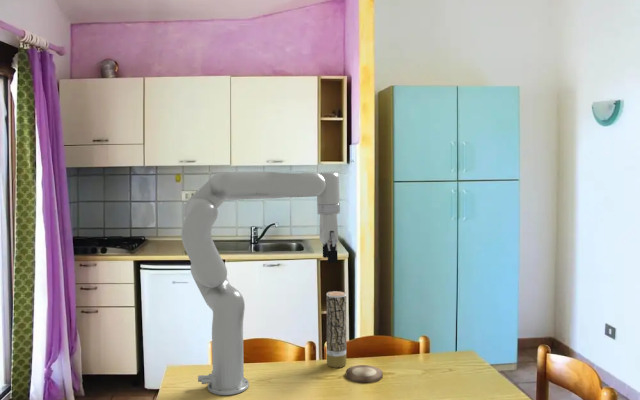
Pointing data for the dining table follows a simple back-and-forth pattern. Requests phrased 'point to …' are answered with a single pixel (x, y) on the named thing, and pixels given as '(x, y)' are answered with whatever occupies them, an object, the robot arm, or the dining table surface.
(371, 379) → the base
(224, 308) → the robot arm
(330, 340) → the bark-patterned cylinder
